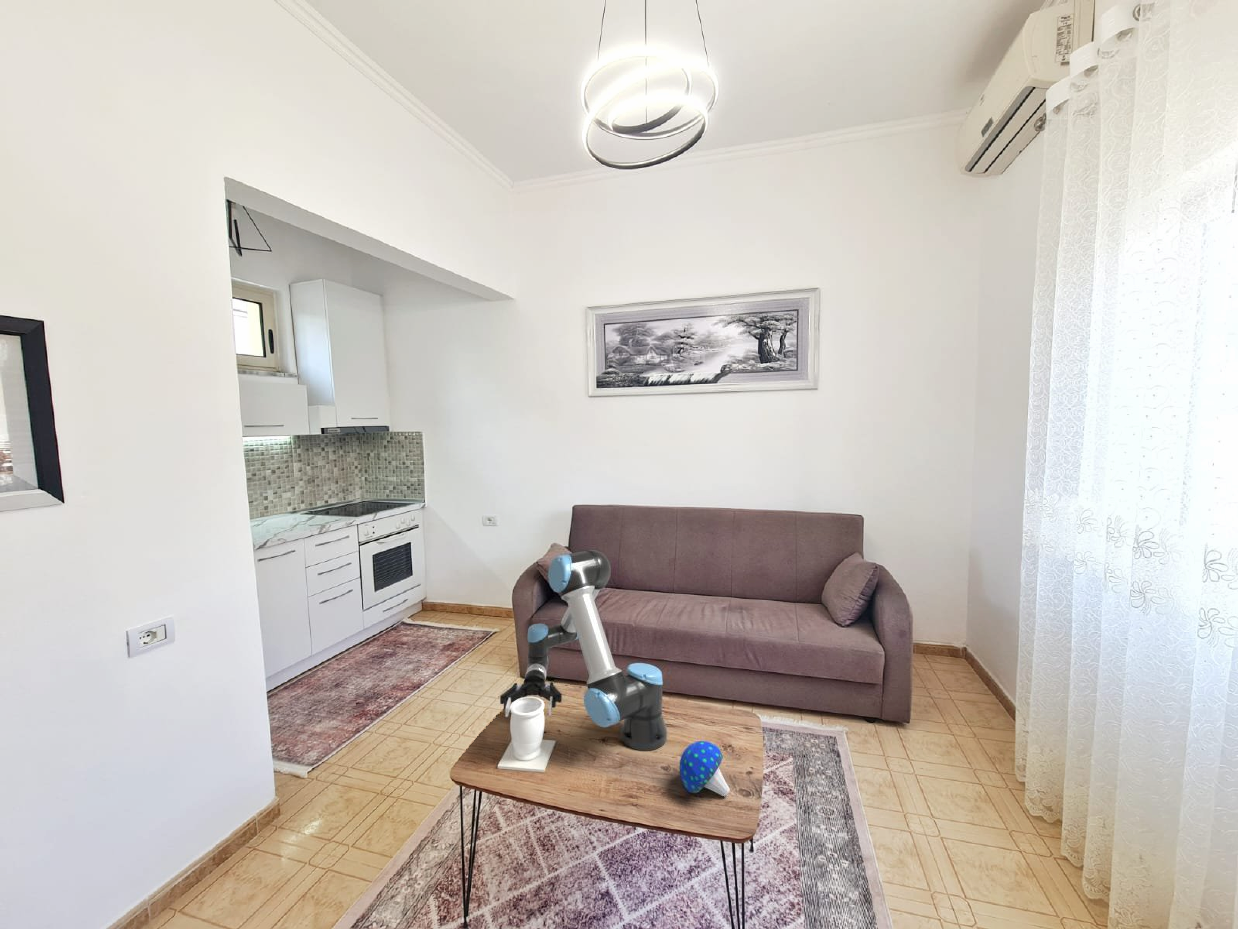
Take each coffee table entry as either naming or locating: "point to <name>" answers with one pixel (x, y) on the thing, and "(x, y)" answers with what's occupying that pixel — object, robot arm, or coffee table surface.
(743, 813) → the coffee table surface
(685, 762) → the mushroom
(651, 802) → the coffee table surface
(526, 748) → the jar
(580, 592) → the robot arm
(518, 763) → the ceramic tile
